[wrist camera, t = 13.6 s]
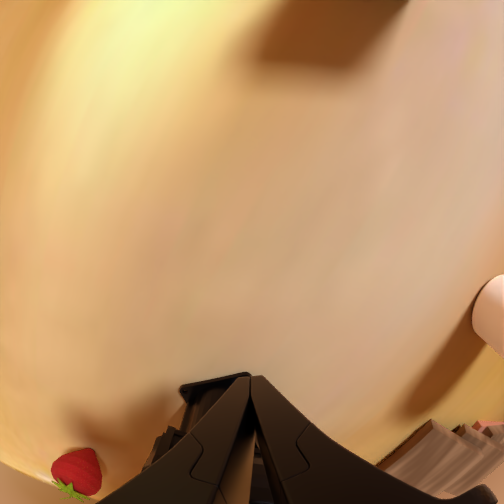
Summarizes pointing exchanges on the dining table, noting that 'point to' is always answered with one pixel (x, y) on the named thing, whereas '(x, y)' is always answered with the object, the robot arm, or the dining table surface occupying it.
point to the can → (490, 314)
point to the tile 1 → (432, 459)
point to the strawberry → (78, 473)
